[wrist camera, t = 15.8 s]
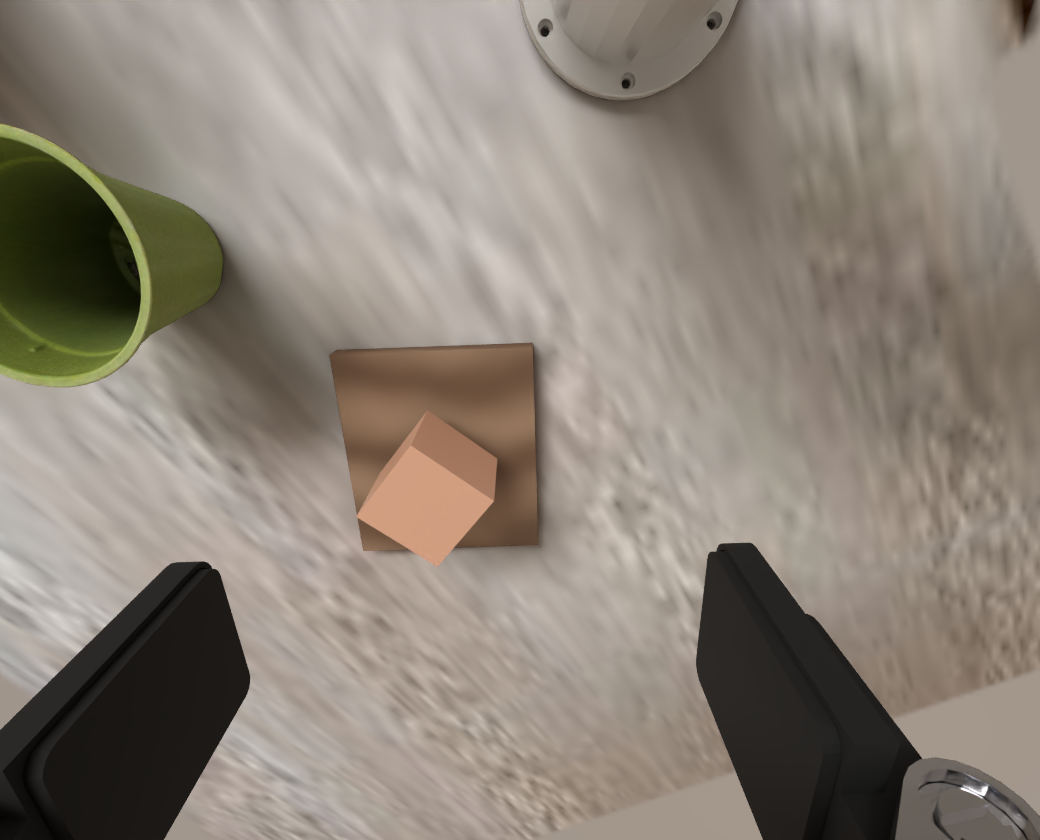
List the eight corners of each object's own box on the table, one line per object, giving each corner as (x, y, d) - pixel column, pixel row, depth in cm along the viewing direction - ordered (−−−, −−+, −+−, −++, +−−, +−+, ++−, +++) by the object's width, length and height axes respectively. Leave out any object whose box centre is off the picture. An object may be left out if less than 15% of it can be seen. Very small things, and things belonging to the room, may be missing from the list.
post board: (336, 350, 37) (290, 382, 29) (532, 342, 37) (536, 373, 29) (368, 540, 42) (336, 607, 35) (537, 534, 42) (542, 600, 35)
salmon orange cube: (380, 472, 37) (356, 516, 31) (427, 410, 35) (410, 445, 30) (448, 516, 38) (437, 566, 33) (497, 458, 37) (493, 500, 31)
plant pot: (293, 239, 34) (193, 246, 24) (209, 373, 37) (89, 431, 27) (124, 109, 31) (-74, 52, 21) (49, 265, 35) (-155, 284, 24)
